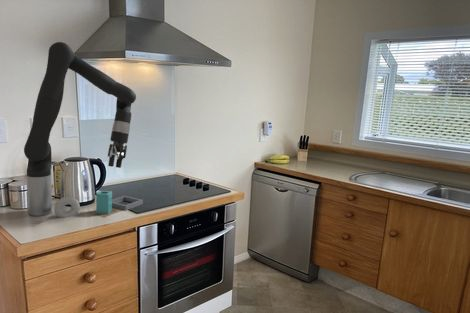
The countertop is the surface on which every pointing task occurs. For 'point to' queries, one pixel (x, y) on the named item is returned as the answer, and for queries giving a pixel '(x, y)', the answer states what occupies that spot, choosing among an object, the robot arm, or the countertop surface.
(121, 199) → the grey square ring
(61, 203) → the donut
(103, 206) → the sleeve
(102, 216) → the stake stand
